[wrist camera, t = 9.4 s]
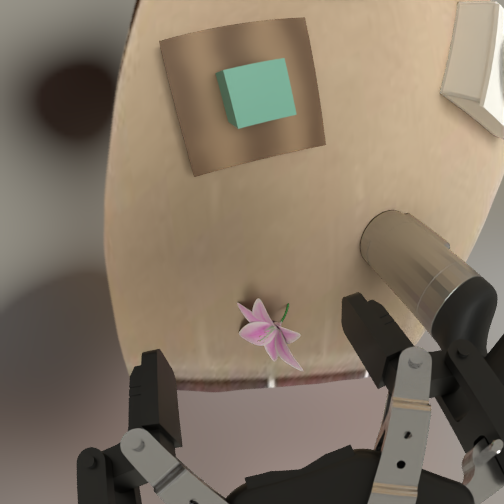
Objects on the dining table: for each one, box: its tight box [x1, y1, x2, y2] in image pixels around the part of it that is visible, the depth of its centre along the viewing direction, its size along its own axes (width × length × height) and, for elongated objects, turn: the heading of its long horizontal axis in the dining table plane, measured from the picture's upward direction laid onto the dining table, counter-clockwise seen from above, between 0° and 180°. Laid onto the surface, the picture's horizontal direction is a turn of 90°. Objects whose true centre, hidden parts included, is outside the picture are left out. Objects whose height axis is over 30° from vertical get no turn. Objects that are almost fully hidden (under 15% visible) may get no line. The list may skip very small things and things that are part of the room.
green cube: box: [215, 58, 297, 129], centre depth 24 cm, size 5×5×5 cm
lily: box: [237, 298, 303, 371], centre depth 42 cm, size 12×12×10 cm
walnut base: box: [159, 18, 326, 177], centre depth 28 cm, size 14×14×4 cm
